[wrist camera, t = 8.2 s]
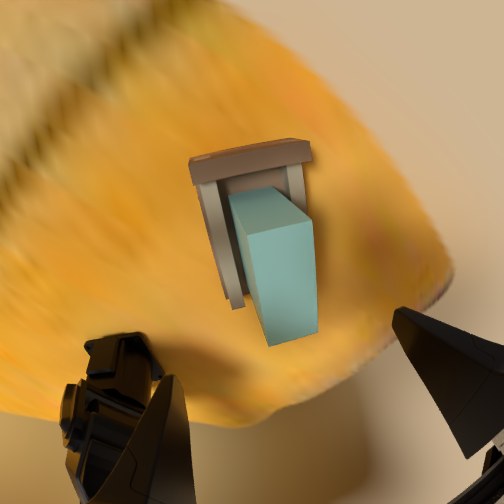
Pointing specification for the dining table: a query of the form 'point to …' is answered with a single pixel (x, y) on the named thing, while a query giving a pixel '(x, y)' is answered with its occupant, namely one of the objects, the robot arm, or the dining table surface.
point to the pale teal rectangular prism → (277, 262)
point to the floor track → (240, 180)
